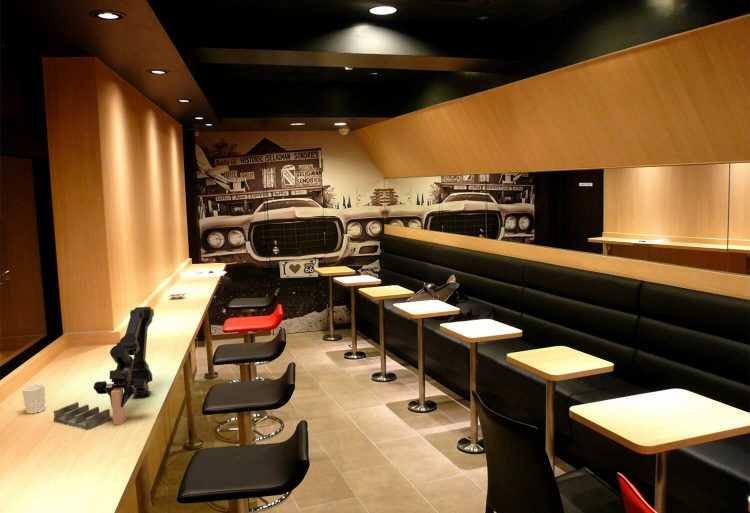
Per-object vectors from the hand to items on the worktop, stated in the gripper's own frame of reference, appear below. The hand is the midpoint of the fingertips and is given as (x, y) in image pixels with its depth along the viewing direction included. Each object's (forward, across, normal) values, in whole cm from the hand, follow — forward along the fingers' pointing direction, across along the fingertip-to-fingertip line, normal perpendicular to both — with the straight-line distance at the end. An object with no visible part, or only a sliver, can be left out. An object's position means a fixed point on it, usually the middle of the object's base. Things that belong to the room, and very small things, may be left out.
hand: (117, 407), depth 230 cm
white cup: (-9, -39, +18) cm, 44 cm away
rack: (+1, -15, +9) cm, 18 cm away
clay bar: (+4, 0, +6) cm, 7 cm away
